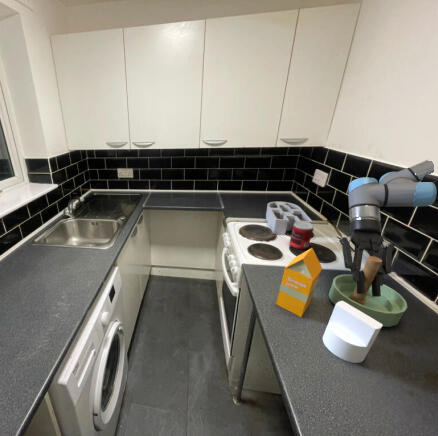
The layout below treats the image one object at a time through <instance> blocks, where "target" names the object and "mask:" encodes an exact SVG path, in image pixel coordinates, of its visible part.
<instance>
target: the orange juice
mask: <svg viewBox="0 0 438 436" xmlns="http://www.w3.org/2000/svg"><path fill="white" fill-rule="evenodd" d="M322 270H323V266H322V265H321V263H320V260H319V258H318V256H317V254H316V252H315V250H314V248H313V247H311V248H309V249H308V250H307V249H306V251H304V252H302V253H300V254H298V255H297V256H294V257H293V259H292V260H291V261H290V262H289V263H288V264H287V265H286V266H285V268H284V271H283V273H282V274H283V275H282V279H281V283H280V286H279V290H278V294H277V299H276V302H275V305H277V306H279V307H280V308H283V309H285V310H287V311H289V312H290V313H292V314H294V315H296V316H297V317H300V318H302V316H303V315H304V313H305V312H306V310H307V309H308V307H310V304H311V302H312V299H313V296H314V293H315V290H316V287H317V284H318V281H319V278H320V275H321V272H322Z"/></svg>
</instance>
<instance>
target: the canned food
mask: <svg viewBox="0 0 438 436" xmlns="http://www.w3.org/2000/svg"><path fill="white" fill-rule="evenodd" d="M314 229H315V226H314V224H313V223H312V224H310V223H308V222H303V221H298V222H295V223H294V226H293V230H292V231H291V235H290V239H289V246H291V247H292V248H294V249H297V250H307V249H308V248H309V245H310V243H311V239H312V235H313V234H314V233H313V232H314Z"/></svg>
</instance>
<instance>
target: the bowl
mask: <svg viewBox="0 0 438 436" xmlns="http://www.w3.org/2000/svg"><path fill="white" fill-rule="evenodd" d="M356 285H357V282H354V281H353V274H339V275H336V276H335V277H334V278H333V279H332V282H331V284H330V288H329V290H328V297H329V299H330V301H331V302H332V304H333V305H334V306H335V305H336V303H337V302H339V301H344V302H346V303H347V304H349V305H351V306H352V307H354V308H356V309H357V310H359V311H361V312H363V313H364V314H366V315H368V316H369V317H371V318H373V319H374V320H376V321H378V322H379V323H381V324H383V326H382V327H385V328H386V327H387V328H390V327H394V326H397V325H398V324H399V322H400V321H401V320H402V318H403V316H404V315H405V312H406V311H407V309H408V304H407V301H406V299H404V297H403V296H402V294H400V293H398V291H396V290H395V289H393V288H391V287H390V286H388V285H386V284H383V286H380V290H381V296H379V297H373V296H372V284H371V287H370V289H369V291H368V293H367V295H366V300H367V301H366V303H365V304H364V305H361V304H359V303H357V302H355V301H353V300H351V299H349V296H350V294H351V293H353V292H354V290H355V288H356Z"/></svg>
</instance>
